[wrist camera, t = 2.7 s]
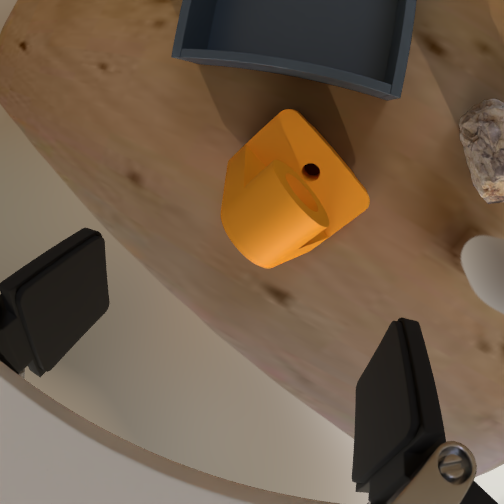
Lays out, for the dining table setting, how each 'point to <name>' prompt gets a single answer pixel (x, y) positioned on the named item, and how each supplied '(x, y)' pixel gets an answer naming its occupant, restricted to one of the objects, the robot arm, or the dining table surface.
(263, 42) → the tray
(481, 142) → the rock
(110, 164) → the dining table surface
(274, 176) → the bracket
